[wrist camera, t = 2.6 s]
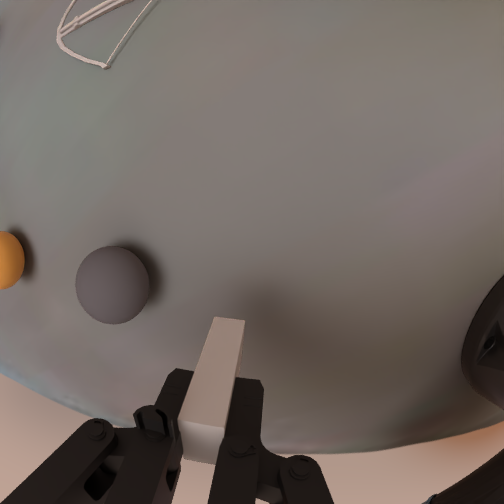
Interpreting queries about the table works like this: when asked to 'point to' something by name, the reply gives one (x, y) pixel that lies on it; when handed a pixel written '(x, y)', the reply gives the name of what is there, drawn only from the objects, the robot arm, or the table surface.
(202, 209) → the table surface
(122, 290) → the dark grey ball
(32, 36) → the table surface
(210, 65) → the table surface
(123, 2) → the crossbow
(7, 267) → the object ball
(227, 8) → the table surface
